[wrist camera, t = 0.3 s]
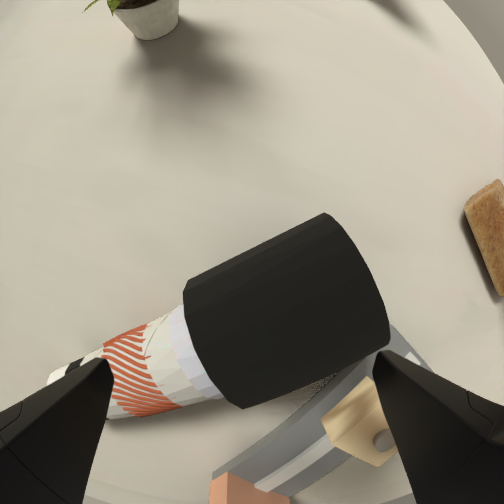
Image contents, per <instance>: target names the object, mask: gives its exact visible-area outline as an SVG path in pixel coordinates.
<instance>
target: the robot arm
mask: <svg viewBox="0 0 504 504" xmlns="http://www.w3.org/2000/svg"><path fill="white" fill-rule="evenodd" d="M372 376H373V379H374V383H375V386H376V389H377V393H378V397H379V400H380V404H381V407H382V410H383V413H384V416H385V418H386V421H387V423H388V426H389V428H390V431H391V433H392V436H393V439H394V441H395V444H396V446H397V449H398V452H399V454H400V457H401V460H402V462H403V465H404V468H405V471H406V473H407V476H408V479H409V482H410V485H411V488H412V491H413V494H414V497H415V500H416V503H417V504H504V406H502V405H499V404H497V403H494V402H492V401H489V400H487V399H484V398H482V397H480V396H478V395H476V394H474V393H472V392H470V391H468V390H467V391H466V389H464V388H462V387H460V386H458V385H456V384H454V383H452V382H450V381H448V380H446V379H445V378H443V377H441V376H439V375H437V374H435V373H433V372H431V371H429V370H427V369H425V368H423V367H421V366H420V365H418V364H416V363H414V362H412V361H410V360H408V359H406V358H404V357H403V356H401V355H399V354H397V353H395V352H393V351H391V350H382V351H379V352H378V353H377V355H376V359H375V362H374V366H373V369H372ZM113 386H114V375H113V373H112V370H111V367H110V365H109V362H108V360H107V359H105V358H100V357H95V358H93V359H92V360H90V361H88V362H87V363H85V364H83V365H82V366H80V367H78V368H77V369H75V370H73V371H71V372H70V373H68V374H66V375H65V376H63V377H61V378H60V379H58V380H56V381H54V382H53V383H51V384H49V385H48V386H46V387H44V388H42V389H41V390H39V391H37V392H36V393H34V394H32V395H30V396H29V397H27V398H25V399H24V400H22V401H20V402H18V403H17V404H15V405H13V406H11V407H9V408H8V409H6V410H4V411H2V412H0V504H82V502H83V498H84V494H85V490H86V486H87V482H88V478H89V474H90V470H91V467H92V463H93V460H94V456H95V453H96V449H97V446H98V443H99V439H100V436H101V433H102V430H103V427H104V424H105V420H106V417H107V413H108V408H109V404H110V399H111V394H112V390H113Z"/></svg>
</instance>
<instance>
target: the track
mask: <svg viewBox="0 0 504 504" xmlns="http://www.w3.org/2000/svg"><path fill="white" fill-rule="evenodd" d="M389 326H390V335H391V339H390V342H389V344H388V345H387V346H385V347H383V348H381V349H380V350H378V351H376V352H374V353H372V354H371V355H369V356H367V357H365V358H363V359H361V360H359V361H357V362H355V363H353V364H352V365H350V366H348V367H346V368H343V369H342V370H341V371H340V372H339V373H338V374H337V375H336V376H335V377H334V378H333V379H332V380H331V381H330V382H329V383H328V384H327V385H325V386H324V387H323V388H322V389H321V390H320V391H319V392H318V393H317V394H316V395H315V396H314V397H312V398H311V399H310V400H309V401H308V402H307V403H306V404H305V405H303V406H302V407H301V408H300V409H299V410H298V411H296V412H295V413H294V414H293V415H292V416H290V417H289V418H288V419H287V420H286V421H284V422H283V423H282V424H281V425H279V426H278V427H277V428H276V429H274V430H273V431H272V432H270V433H269V434H268V435H266V436H265V437H264V438H262V439H261V440H260V441H258V442H257V443H256V444H254V445H253V446H252V447H250V448H249V449H247V450H246V451H244V452H243V453H242V454H240V455H239V456H237V457H236V458H234V459H233V460H231V461H230V462H228V463H227V464H225V465H224V466H222V467H220V468H219V469H217V470H216V471H214V472H213V478H212V481H211V484H210V497H209V504H290V499H289V497H291V496H293V495H294V494H296V493H298V492H299V491H301V490H303V489H304V488H306V487H308V486H309V485H311V484H312V483H314V482H315V481H317V480H318V479H320V478H321V477H323V476H324V475H326V474H327V473H329V472H330V471H332V470H333V469H334V468H336V467H337V466H339V465H340V464H341V463H343V462H344V461H345V460H347V459H348V458H349V457H350V456H352V455H351V454H349V453H347V452H345V451H343V450H341V449H339V448H337V447H335V446H334V445H332V443H331V441H330V439H329V437H328V435H327V432H326V430H325V428H324V426H323V424H322V421H321V418H322V417H323V416H324V415H326V414H327V413H328V412H329V411H330V410H331V409H332V408H334V407H335V406H336V405H337V404H338V403H339V402H340V401H341V400H342V399H343V398H345V397H346V396H347V395H348V394H349V393H350V392H351V391H352V390H353V389H354V388H355V387H356V386H357V385H358V384H359V383H360V382H361V381H362V380H363V379H364V378H365V377H366V376H368V377H369V378H370V379H371V380H373V381H374V379H373V376H372V369H373V366H374V362H375V359H376V355H377V353H378V352H379V351H382V350H391V351H393V352H395V353H397V354H399V355H401V356H403V357H404V358H406V359H408V360H410V361H412V362H414V363H416V364H418V365H420V366H421V367H423V368H425V369H427V370H429V371H431V372H433V371H432V370H431V368H430V367H429V366H428V365H427V364H426V363H425V361H424V360H423V359H422V358H421V357H420V356H419V355H418V353H417V352H416V351H415V350H414V349H413V348H412V347H411V345H410V344H409V343H408V342H407V341H406V340H405V339H404V338H403V336H402V335H401V334H400V333H399V332H398V331H397V330H396V329H395V328H394V326H392V325H391V324H389ZM433 373H434V372H433Z"/></svg>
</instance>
